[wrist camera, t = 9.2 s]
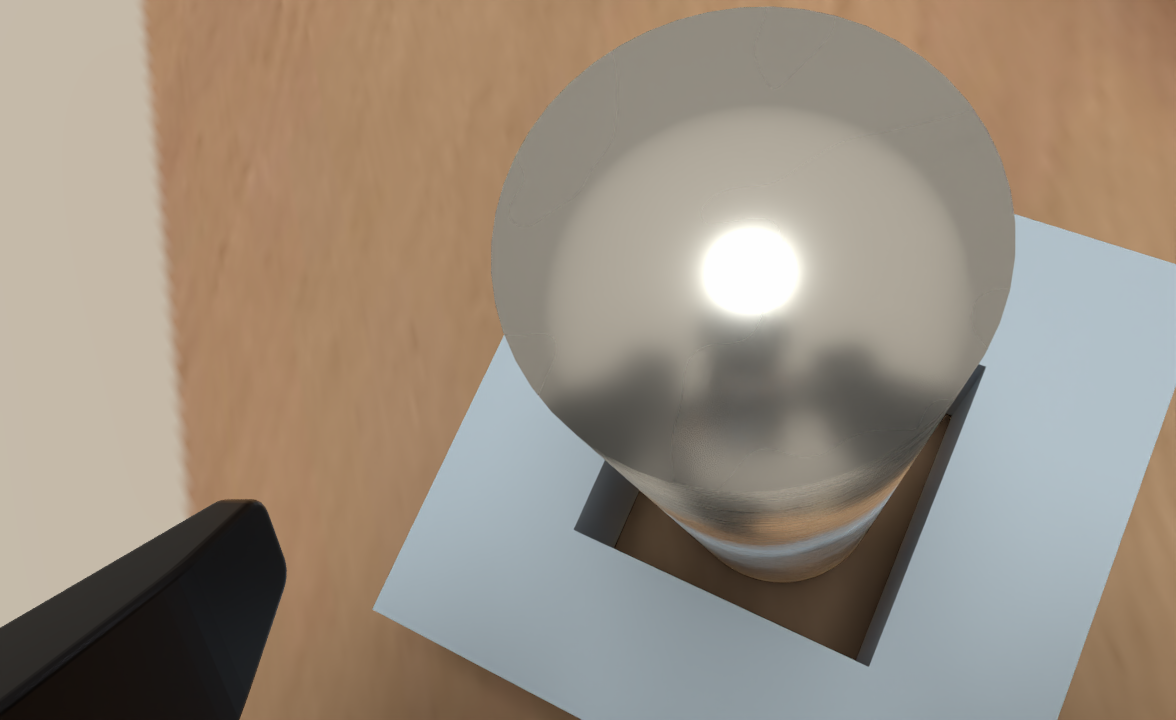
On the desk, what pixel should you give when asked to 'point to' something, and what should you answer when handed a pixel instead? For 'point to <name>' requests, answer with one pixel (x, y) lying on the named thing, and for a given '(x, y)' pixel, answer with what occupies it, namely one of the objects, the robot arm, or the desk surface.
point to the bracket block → (919, 574)
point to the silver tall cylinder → (756, 272)
